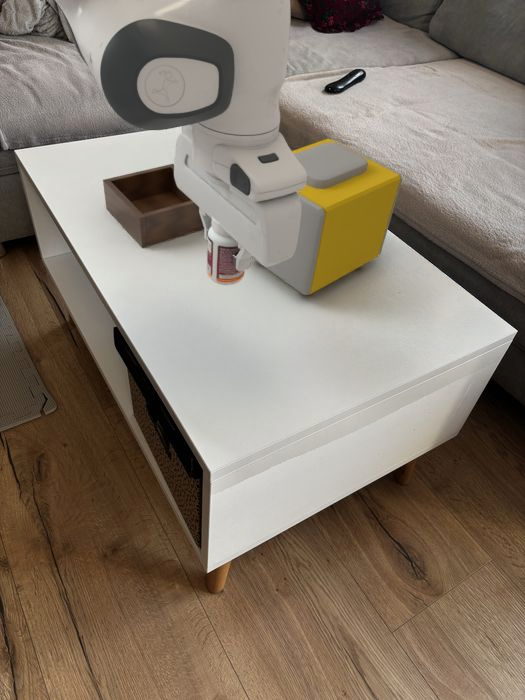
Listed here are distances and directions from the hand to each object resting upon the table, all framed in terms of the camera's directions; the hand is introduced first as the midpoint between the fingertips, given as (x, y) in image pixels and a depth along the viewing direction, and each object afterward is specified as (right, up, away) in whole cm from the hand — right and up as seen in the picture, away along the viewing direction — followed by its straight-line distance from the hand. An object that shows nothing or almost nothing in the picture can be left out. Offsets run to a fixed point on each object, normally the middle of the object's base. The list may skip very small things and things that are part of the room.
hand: (226, 254), depth 67 cm
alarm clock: (+12, +3, +27) cm, 30 cm away
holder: (-15, +12, +33) cm, 38 cm away
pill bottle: (0, -2, +2) cm, 3 cm away
